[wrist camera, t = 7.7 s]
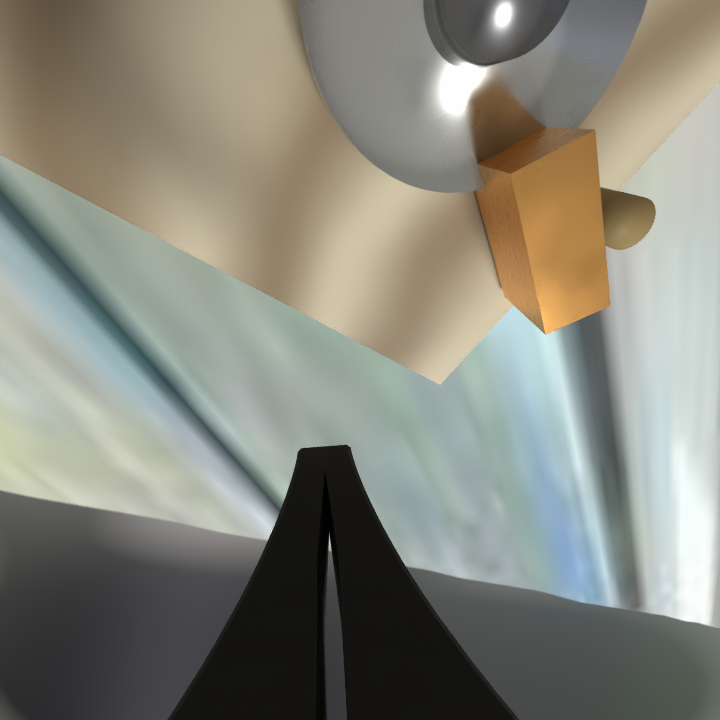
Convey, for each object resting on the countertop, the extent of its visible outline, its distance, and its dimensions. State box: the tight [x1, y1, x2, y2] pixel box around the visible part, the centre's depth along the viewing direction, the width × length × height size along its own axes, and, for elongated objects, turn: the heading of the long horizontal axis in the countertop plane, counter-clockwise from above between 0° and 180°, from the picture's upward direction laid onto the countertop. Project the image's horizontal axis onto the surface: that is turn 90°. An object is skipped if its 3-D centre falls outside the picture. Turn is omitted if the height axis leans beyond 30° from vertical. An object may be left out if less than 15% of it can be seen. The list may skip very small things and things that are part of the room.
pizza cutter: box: [298, 0, 647, 335], centre depth 11 cm, size 15×10×4 cm, turn 26°
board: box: [0, 0, 720, 385], centre depth 11 cm, size 20×17×5 cm
